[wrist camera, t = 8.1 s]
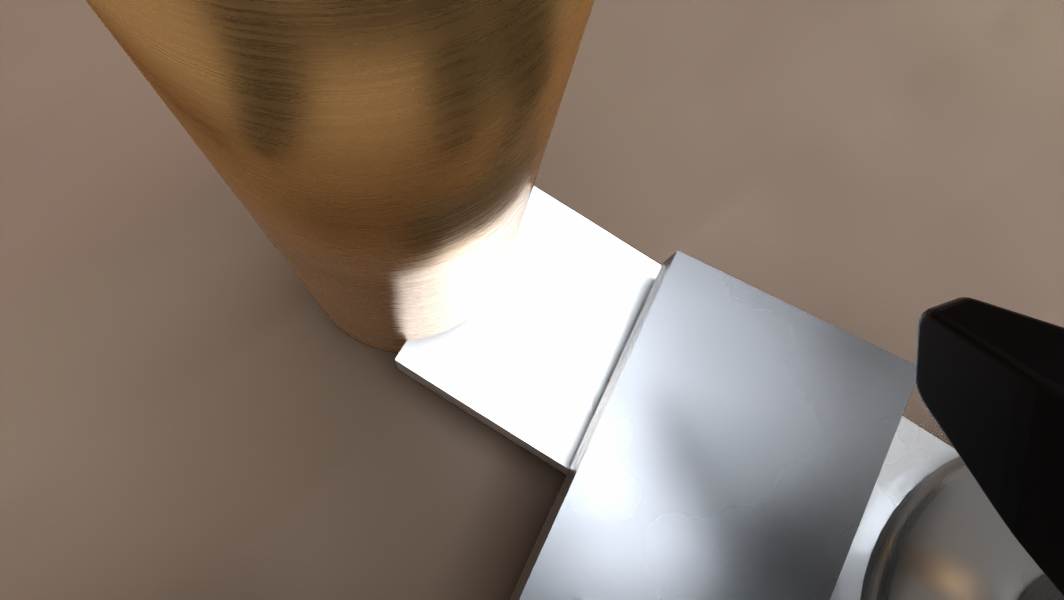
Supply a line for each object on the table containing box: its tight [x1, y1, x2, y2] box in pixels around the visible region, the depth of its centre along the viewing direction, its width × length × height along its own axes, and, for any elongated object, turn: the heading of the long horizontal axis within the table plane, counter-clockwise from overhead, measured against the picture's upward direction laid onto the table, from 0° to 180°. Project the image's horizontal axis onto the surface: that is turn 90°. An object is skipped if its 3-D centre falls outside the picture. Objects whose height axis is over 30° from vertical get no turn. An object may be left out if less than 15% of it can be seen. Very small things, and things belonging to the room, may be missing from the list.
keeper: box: [510, 250, 916, 600], centre depth 16 cm, size 4×8×4 cm, turn 155°
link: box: [86, 0, 1044, 600], centre depth 10 cm, size 17×6×15 cm, turn 58°
